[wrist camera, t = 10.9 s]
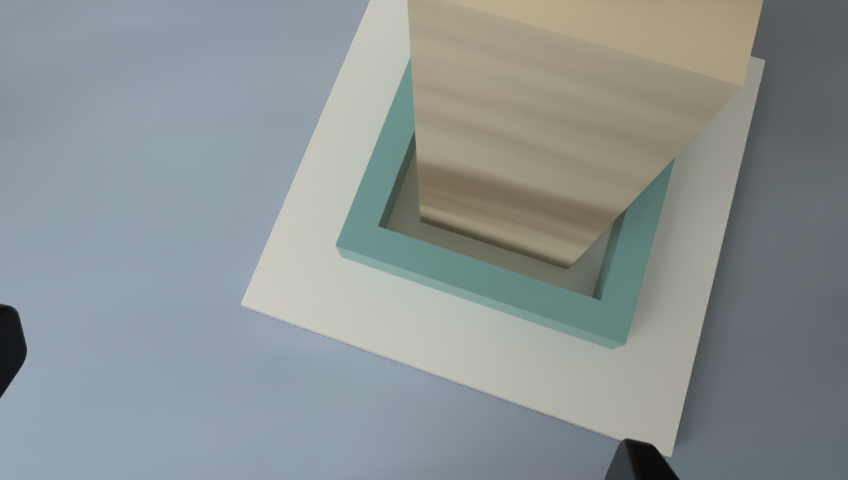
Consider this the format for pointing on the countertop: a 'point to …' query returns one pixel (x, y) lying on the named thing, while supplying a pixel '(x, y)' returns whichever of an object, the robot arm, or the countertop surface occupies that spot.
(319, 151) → the baseplate
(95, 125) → the countertop surface
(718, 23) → the beige tall block
